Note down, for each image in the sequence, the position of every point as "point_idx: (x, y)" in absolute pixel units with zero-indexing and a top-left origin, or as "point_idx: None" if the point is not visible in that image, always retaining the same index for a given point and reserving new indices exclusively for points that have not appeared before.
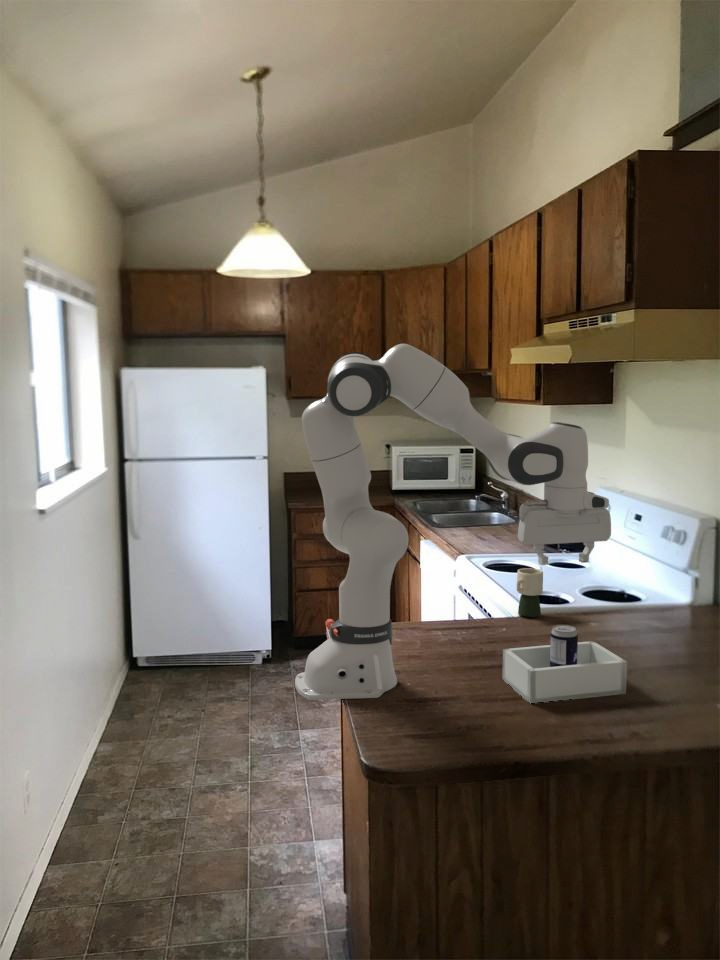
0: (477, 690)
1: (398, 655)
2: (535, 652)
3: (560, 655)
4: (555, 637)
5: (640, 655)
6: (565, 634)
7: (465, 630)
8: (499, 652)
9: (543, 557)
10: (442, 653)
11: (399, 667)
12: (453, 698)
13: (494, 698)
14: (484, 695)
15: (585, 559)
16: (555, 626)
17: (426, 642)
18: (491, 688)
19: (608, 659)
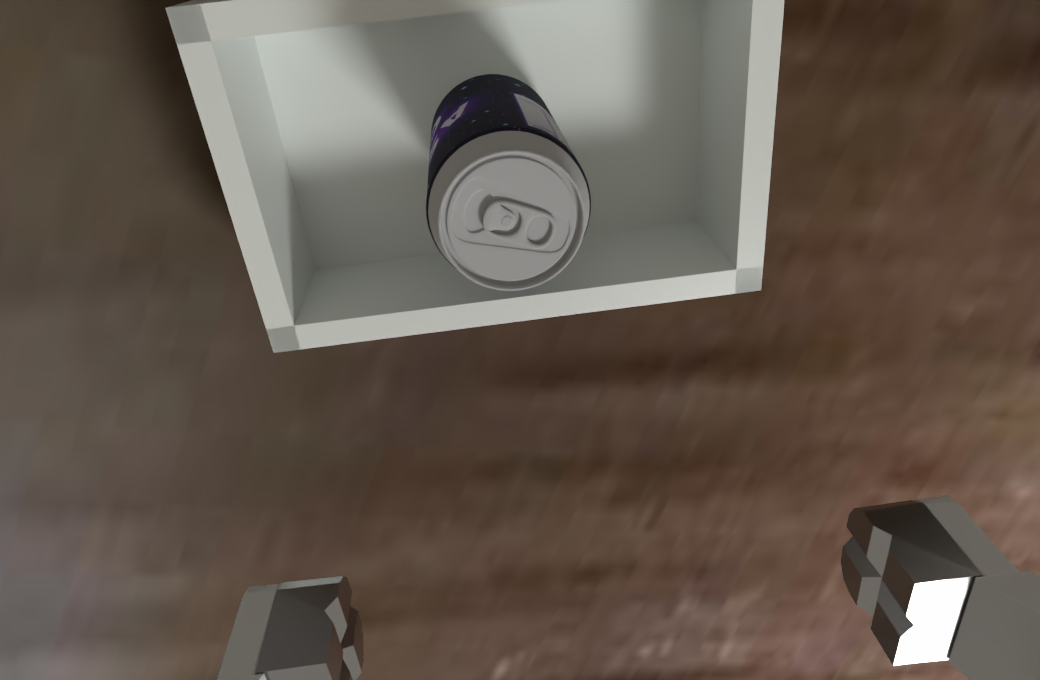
0: (862, 133)
1: (954, 486)
2: (597, 276)
3: (545, 115)
4: (581, 169)
5: (36, 423)
6: (532, 146)
7: (633, 664)
8: (602, 488)
9: (995, 568)
10: (803, 493)
11: (1012, 387)
12: (999, 60)
13: (840, 33)
14: (862, 74)
15: (291, 609)
16: (548, 274)
17: (807, 581)
18: (797, 147)
19: (251, 144)
